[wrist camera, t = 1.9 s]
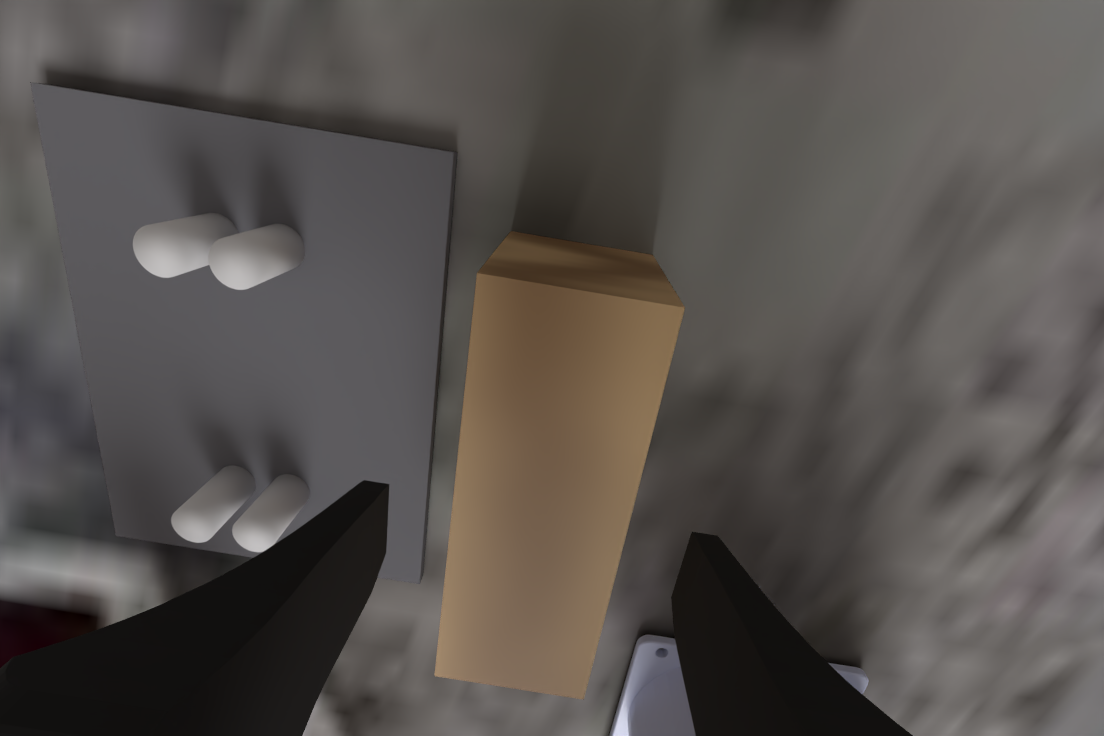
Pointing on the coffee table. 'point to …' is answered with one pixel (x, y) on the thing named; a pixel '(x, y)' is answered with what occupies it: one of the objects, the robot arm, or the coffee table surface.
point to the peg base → (251, 316)
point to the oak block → (550, 456)
